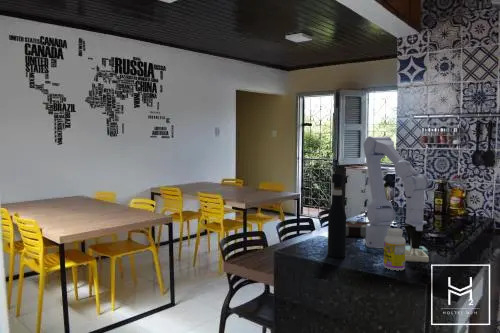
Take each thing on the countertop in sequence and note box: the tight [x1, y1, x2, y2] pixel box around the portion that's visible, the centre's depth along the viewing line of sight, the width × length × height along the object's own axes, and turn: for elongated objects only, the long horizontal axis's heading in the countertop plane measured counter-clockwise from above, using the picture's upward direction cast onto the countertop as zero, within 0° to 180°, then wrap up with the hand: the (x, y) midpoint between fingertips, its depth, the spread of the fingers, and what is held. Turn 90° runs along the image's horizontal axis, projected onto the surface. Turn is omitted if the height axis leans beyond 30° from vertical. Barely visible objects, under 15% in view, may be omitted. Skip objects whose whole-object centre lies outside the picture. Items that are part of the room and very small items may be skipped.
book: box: [346, 219, 370, 238], centre depth 180 cm, size 15×25×5 cm, turn 77°
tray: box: [405, 250, 430, 263], centre depth 140 cm, size 8×8×2 cm
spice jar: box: [409, 244, 418, 256], centre depth 140 cm, size 3×3×9 cm
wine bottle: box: [327, 173, 347, 258], centre depth 143 cm, size 6×6×30 cm
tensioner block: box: [405, 245, 429, 256], centre depth 148 cm, size 8×6×2 cm
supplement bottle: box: [383, 227, 407, 272], centre depth 129 cm, size 7×7×13 cm
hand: (413, 246), depth 140 cm, fingers open, 4 cm apart
